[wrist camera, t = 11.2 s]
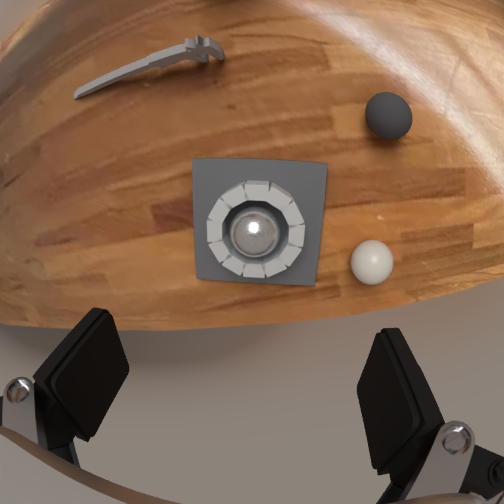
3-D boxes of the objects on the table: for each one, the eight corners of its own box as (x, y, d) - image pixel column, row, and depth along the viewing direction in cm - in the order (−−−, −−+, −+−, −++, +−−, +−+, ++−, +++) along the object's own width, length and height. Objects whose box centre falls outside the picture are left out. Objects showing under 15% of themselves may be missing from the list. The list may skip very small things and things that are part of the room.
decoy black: (400, 101, 24) (420, 95, 19) (398, 142, 25) (419, 143, 21) (359, 92, 24) (375, 83, 19) (358, 135, 26) (374, 134, 21)
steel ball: (282, 203, 28) (280, 215, 24) (279, 248, 30) (277, 267, 25) (235, 200, 29) (224, 212, 24) (234, 244, 31) (224, 263, 26)
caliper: (224, 52, 24) (212, 31, 18) (225, 60, 24) (213, 41, 18) (76, 93, 26) (45, 89, 20) (76, 100, 26) (45, 97, 20)
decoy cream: (387, 235, 30) (404, 251, 25) (379, 273, 31) (394, 293, 27) (349, 232, 30) (361, 248, 25) (343, 271, 32) (353, 292, 27)
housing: (325, 163, 27) (333, 165, 24) (313, 281, 33) (317, 299, 29) (195, 158, 28) (183, 160, 24) (198, 275, 33) (189, 291, 30)
